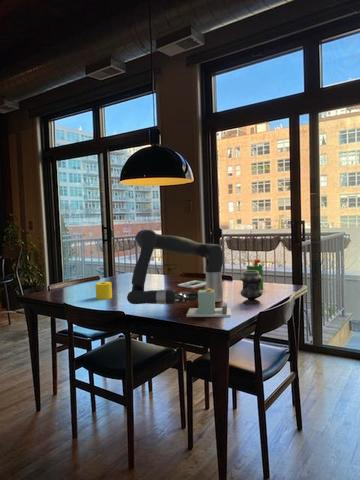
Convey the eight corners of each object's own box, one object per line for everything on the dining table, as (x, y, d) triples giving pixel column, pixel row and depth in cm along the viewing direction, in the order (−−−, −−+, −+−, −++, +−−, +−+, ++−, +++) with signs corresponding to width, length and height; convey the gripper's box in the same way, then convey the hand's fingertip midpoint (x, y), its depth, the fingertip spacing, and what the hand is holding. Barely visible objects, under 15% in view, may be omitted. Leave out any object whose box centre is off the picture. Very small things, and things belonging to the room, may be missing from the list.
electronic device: (193, 286, 256) (177, 283, 267) (193, 289, 256) (177, 287, 267) (210, 281, 269) (194, 279, 280) (210, 285, 269) (195, 282, 280)
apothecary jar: (266, 302, 211) (266, 270, 209) (254, 306, 203) (253, 273, 201) (249, 299, 220) (248, 268, 218) (236, 303, 211) (235, 271, 210)
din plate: (186, 316, 189) (186, 306, 188) (189, 310, 201) (189, 300, 201) (230, 316, 185) (230, 306, 185) (231, 310, 198) (230, 300, 197)
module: (198, 313, 189) (197, 290, 188) (199, 310, 195) (198, 288, 194) (214, 313, 188) (213, 290, 187) (215, 310, 194) (214, 287, 193)
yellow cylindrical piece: (111, 295, 245) (110, 281, 245) (113, 298, 236) (112, 283, 235) (95, 297, 242) (94, 282, 242) (96, 300, 233) (96, 285, 232)
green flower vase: (256, 286, 253) (255, 257, 252) (266, 288, 246) (265, 258, 244) (245, 289, 248) (244, 259, 246) (255, 291, 240) (254, 260, 239)
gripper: (163, 292, 187) (195, 292, 184) (168, 287, 201) (198, 286, 198) (163, 307, 187) (196, 307, 185) (168, 300, 201) (198, 300, 199)
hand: (197, 296), depth 192 cm, fingers open, 8 cm apart
